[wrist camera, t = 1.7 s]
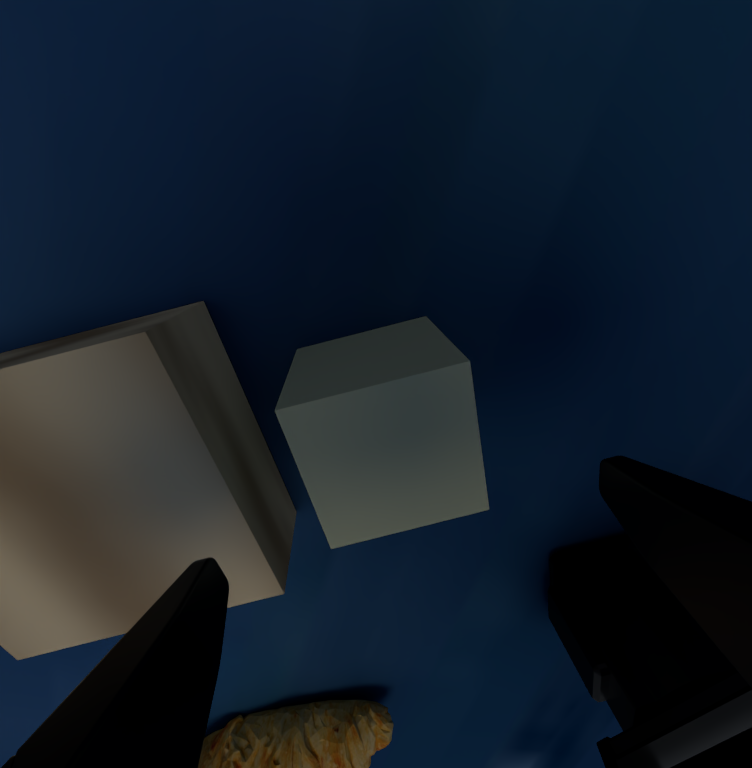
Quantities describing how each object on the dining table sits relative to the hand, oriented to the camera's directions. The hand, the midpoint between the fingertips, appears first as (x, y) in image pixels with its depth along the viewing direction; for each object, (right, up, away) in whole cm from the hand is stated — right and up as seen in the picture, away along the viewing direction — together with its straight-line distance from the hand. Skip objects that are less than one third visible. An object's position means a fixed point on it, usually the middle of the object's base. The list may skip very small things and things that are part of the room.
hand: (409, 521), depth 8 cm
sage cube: (-1, +3, +6) cm, 7 cm away
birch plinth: (-10, 0, +6) cm, 12 cm away
